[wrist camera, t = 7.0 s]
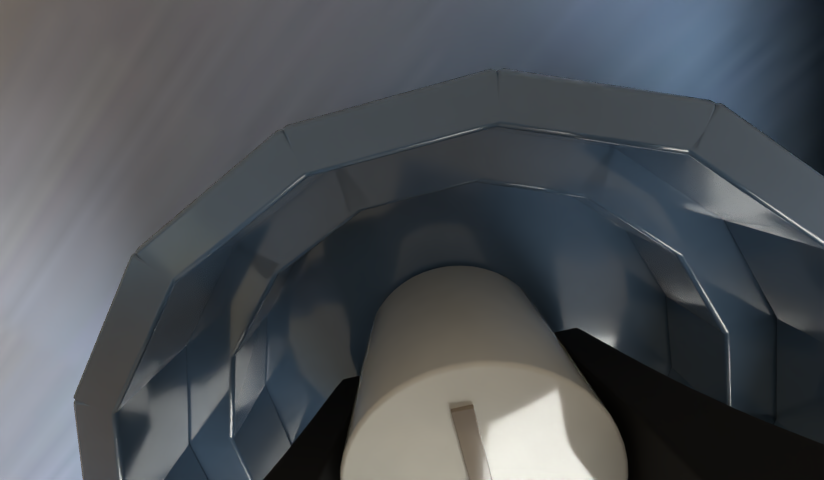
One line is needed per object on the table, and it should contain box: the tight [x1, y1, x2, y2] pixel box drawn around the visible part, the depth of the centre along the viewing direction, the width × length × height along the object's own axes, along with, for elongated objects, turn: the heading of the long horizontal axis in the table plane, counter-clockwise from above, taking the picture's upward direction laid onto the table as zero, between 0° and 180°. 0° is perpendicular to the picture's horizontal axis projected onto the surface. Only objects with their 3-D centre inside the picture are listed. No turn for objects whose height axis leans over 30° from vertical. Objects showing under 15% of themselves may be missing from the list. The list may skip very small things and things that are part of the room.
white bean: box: [340, 266, 628, 480], centre depth 7 cm, size 6×4×4 cm
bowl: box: [74, 68, 824, 480], centre depth 8 cm, size 12×12×4 cm
